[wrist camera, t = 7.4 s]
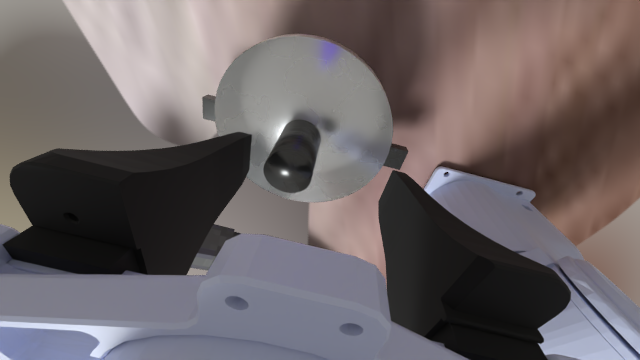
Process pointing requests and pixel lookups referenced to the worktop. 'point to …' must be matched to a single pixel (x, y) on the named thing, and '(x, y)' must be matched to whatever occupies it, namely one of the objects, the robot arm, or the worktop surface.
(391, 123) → the lid
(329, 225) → the worktop surface
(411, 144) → the worktop surface
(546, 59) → the worktop surface
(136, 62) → the worktop surface
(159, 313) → the robot arm
